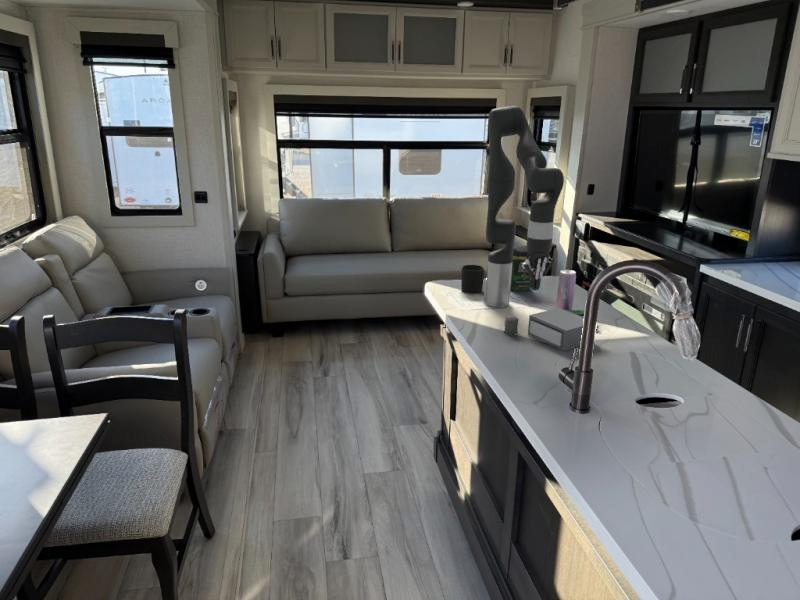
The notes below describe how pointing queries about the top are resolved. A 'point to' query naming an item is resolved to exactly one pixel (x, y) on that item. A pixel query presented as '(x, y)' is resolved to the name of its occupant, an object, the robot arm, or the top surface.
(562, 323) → the box
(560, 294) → the beverage can
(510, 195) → the robot arm
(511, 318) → the pedestal
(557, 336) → the tray
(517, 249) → the coffee jar
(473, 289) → the pen holder
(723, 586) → the top surface
